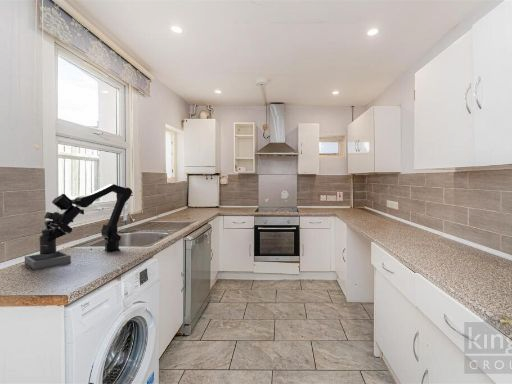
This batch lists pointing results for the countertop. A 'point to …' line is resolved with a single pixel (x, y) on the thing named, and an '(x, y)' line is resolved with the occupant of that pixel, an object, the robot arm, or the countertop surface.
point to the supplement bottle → (44, 244)
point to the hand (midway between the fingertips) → (44, 240)
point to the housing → (47, 260)
